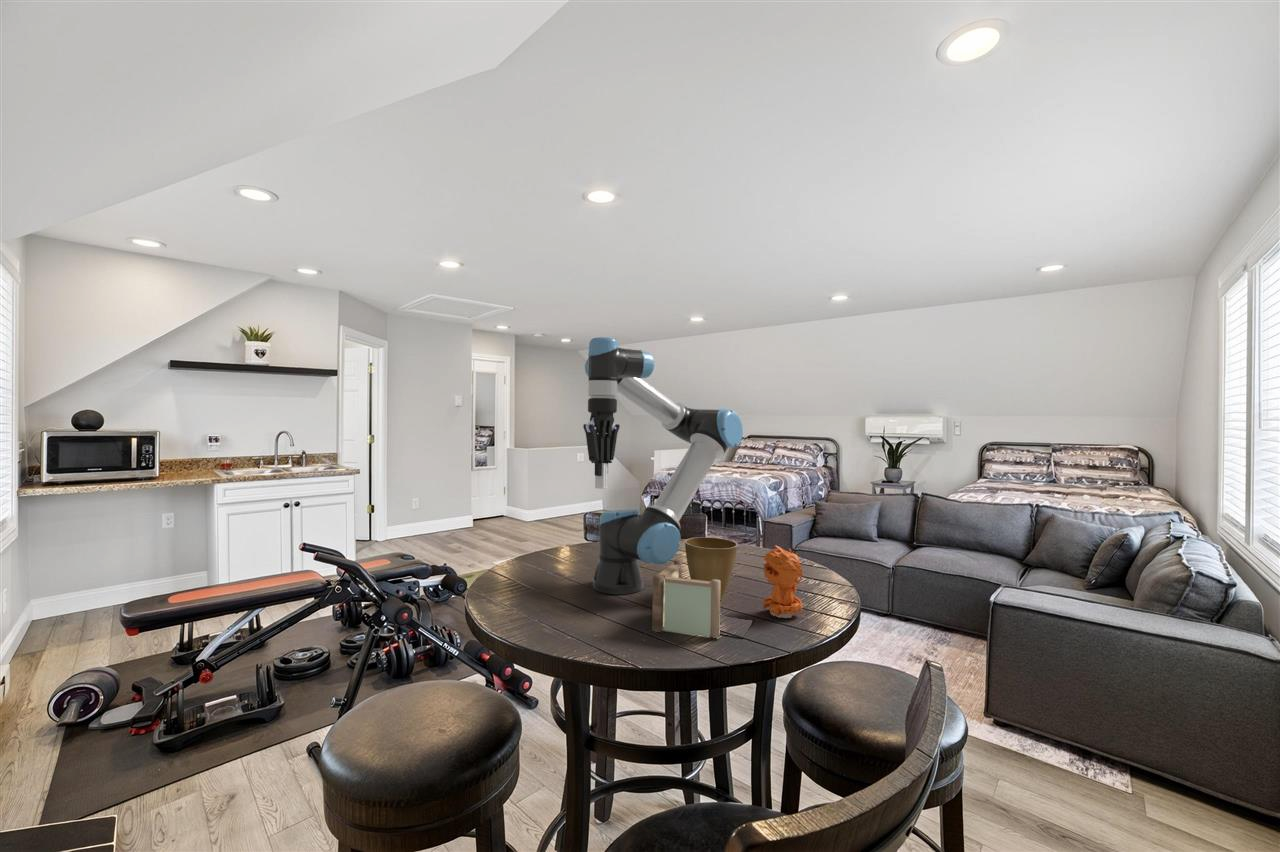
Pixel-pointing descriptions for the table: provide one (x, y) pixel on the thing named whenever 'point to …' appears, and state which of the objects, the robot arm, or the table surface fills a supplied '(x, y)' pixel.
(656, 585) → the fence fixed
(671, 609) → the fence gate
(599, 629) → the table surface
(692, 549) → the plant pot
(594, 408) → the robot arm
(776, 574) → the orange figurine
